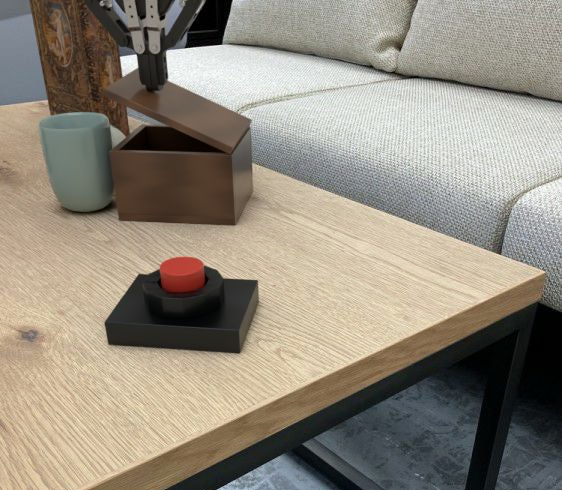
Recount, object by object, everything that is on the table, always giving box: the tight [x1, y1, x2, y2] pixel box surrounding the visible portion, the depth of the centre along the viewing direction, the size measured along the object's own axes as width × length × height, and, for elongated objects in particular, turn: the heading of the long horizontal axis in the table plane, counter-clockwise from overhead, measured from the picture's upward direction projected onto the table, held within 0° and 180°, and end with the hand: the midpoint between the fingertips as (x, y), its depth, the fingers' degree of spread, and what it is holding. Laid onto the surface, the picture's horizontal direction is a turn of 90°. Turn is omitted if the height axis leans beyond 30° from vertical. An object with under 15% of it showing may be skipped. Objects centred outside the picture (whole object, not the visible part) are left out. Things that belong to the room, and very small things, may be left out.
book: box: [28, 0, 131, 137], centre depth 105 cm, size 16×6×25 cm, turn 42°
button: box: [159, 256, 205, 292], centre depth 58 cm, size 4×4×2 cm
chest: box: [109, 123, 254, 226], centre depth 82 cm, size 14×12×8 cm
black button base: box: [104, 265, 260, 354], centre depth 59 cm, size 11×9×4 cm
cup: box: [37, 112, 115, 213], centre depth 81 cm, size 8×8×10 cm
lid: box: [103, 67, 253, 154], centre depth 78 cm, size 14×12×1 cm
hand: (154, 89), depth 77 cm, fingers closed
